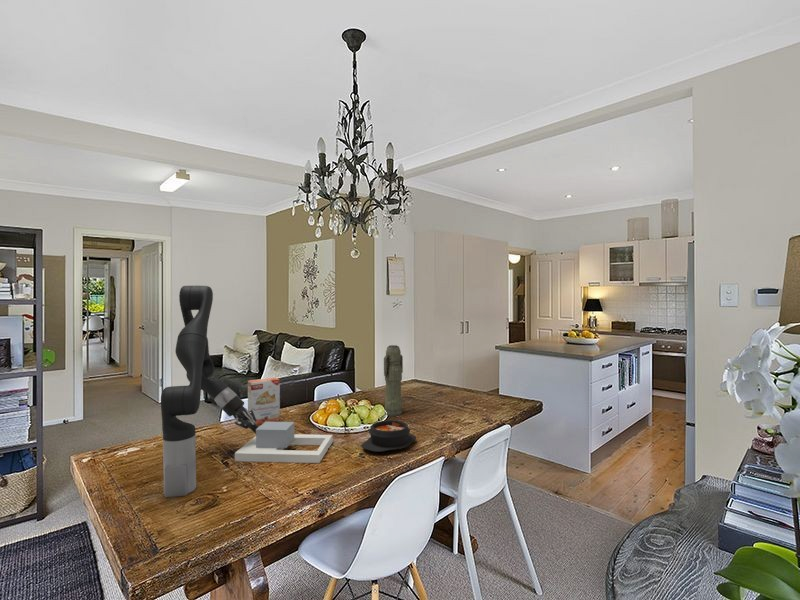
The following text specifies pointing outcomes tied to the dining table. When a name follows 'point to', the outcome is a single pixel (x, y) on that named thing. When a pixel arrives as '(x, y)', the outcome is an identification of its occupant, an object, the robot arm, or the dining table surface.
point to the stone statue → (393, 380)
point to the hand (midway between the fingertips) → (259, 432)
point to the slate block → (274, 435)
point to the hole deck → (280, 455)
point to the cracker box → (264, 399)
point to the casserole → (388, 436)
